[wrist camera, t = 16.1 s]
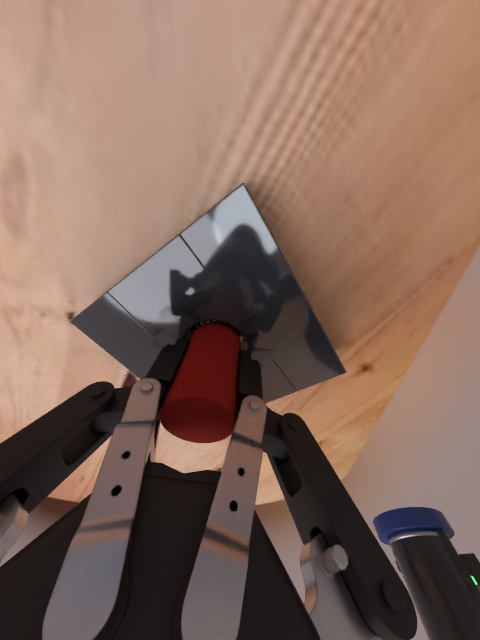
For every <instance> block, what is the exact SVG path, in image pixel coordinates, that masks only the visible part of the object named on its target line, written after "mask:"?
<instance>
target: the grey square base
mask: <svg viewBox="0 0 480 640" xmlns="http://www.w3.org/2000/svg"><path fill="white" fill-rule="evenodd" d="M211 319H214V320H219V321H224V322H227V323H229V324H231V325H232V326H234V327H236V328H237V329H239V331H240V332H241V333H242V334H243V336H244V337H245V338H246V339H245V340H244V342H243V343H242V344H241V349H240V350H247V351H251V359H253V360H258V362H259V364H260V366H261V375H262V389H263V400H264V402H265V403H268V402H270V401H273V400H276V399H278V398H281V397H283V396H286V395H289V394H291V393H294V392H296V391H299V390H302V389H305V388H307V387H310V386H312V385H315V384H318V383H320V382H323V381H325V380H328V379H331V378H333V377H336V376H339V375H341V374H344V373H346V370H345V368H344V366H343V365H342V363H341V361H340V359H339V357H338V355H337V354H336V352H335V350H334V348H333V346H332V344H331V342H330V341H329V339H328V337H327V335H326V333H325V331H324V330H323V328H322V326H321V324H320V322H319V320H318V318H317V317H316V315H315V313H314V311H313V309H312V307H311V306H310V304H309V302H308V300H307V298H306V296H305V295H304V293H303V291H302V289H301V287H300V285H299V283H298V282H297V280H296V278H295V276H294V274H293V272H292V271H291V269H290V267H289V265H288V263H287V261H286V259H285V258H284V256H283V254H282V252H281V250H280V248H279V247H278V245H277V243H276V241H275V239H274V237H273V235H272V234H271V232H270V230H269V228H268V226H267V224H266V223H265V221H264V219H263V217H262V215H261V213H260V212H259V210H258V208H257V206H256V204H255V202H254V200H253V199H252V197H251V195H250V193H249V191H248V189H247V188H246V186H245V184H244V183H242V184H241V185H240V186H238V187H237V188H236V189H235V190H233V191H232V192H231V193H230V194H228V195H227V196H226V197H225V198H223V199H222V200H221V201H220V202H218V203H217V204H216V205H215V206H213V207H212V208H211V209H210V210H208V211H207V212H206V213H205V214H203V215H202V216H201V217H200V218H198V219H197V220H196V221H195V222H193V223H192V224H191V225H190V226H188V227H187V228H186V229H185V230H183V231H182V232H181V233H180V234H178V235H177V236H176V237H175V238H173V239H172V240H171V241H170V242H168V243H167V244H166V245H165V246H163V247H162V248H161V249H160V250H158V251H157V252H156V253H155V254H153V255H152V256H151V257H150V258H148V259H147V260H146V261H145V262H143V263H142V264H141V265H140V266H138V267H137V268H136V269H135V270H133V271H132V272H131V273H130V274H128V275H127V276H126V277H125V278H123V279H122V280H121V281H120V282H118V283H117V284H116V285H115V286H113V287H112V288H111V289H110V290H108V291H107V292H106V293H105V294H103V295H102V296H101V297H100V298H98V299H97V300H96V301H95V302H93V303H92V304H91V305H90V306H88V307H87V308H86V309H85V310H83V311H82V312H81V313H80V314H78V315H77V316H76V317H75V318H73V319H72V320H71V321H70V322H71V323H72V324H73V325H75V326H76V327H77V328H78V329H79V330H81V331H82V332H83V333H84V334H86V335H87V336H88V337H89V338H91V339H92V340H93V341H94V342H95V343H97V344H98V345H99V346H100V347H102V348H103V349H104V350H105V351H106V352H108V353H109V354H110V355H111V356H113V357H114V358H115V359H116V360H117V361H119V362H120V363H121V364H122V365H124V366H125V367H126V368H127V369H129V370H130V371H131V372H132V373H133V374H135V375H136V376H137V377H138V378H140V379H144V378H145V376H146V375H147V373H148V371H149V370H150V368H151V366H152V365H153V363H154V361H155V360H156V358H157V356H158V355H159V353H160V351H161V349H162V348H163V347H165V346H166V345H167V344H172V345H174V344H175V342H176V340H177V339H178V338H182V339H188V340H189V341H190V339H191V337H192V332H191V329H190V326H192V325H194V324H195V323H197V322H199V321H205V320H211Z"/></svg>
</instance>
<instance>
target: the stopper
mask: <svg viewBox="0 0 480 640" xmlns="http://www.w3.org/2000/svg"><path fill="white" fill-rule="evenodd" d="M240 349H241V343H240V339H239V337H238V335H237V334H236V333H235V332H234V331H233V330H232V329H231V328H229V327H227V326H225V325H222V324H216V323H211V324H206V325H203V326H201V327H199V328H198V329H197V330H195V332H194V333H193V335H192V337H191V339H190V342H189V345H188V347H187V349H186V352H185V354H184V356H183V359H182V361H181V364H180V366H179V368H178V371H177V373H176V375H175V378H174V380H173V382H172V385H171V387H170V389H169V391H168V393H167V396H166V398H165V400H164V403H163V405H162V407H161V410H160V415H159V416H160V421H161V423H162V425H163V426H164V428H165V429H166V430H167V431H168V432H170V433H171V434H173V435H174V436H176V437H178V438H180V439H183V440H186V441H190V442H196V443H212V442H217V441H220V440H223V439H225V438H227V437H228V436H230V435H231V434H232V432H233V431H234V428H235V424H236V417H237V386H238V371H239V355H240Z"/></svg>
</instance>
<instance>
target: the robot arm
mask: <svg viewBox="0 0 480 640" xmlns="http://www.w3.org/2000/svg"><path fill="white" fill-rule="evenodd" d="M189 342H190V341H189V340H188V339H182V338H178V339H177V340H176V342H175V344H174V345H172V344H167V345H166V346H165V347H163V348H162V349H161V351H160V353H159V355H158V356H157V358H156V360H155V361H154V363H153V365H152V366H151V368H150V370H149V371H148V373H147V375H146V376H145V378H144V379H141V380H139V381H138V382H136V383H135V384H134V386H131V387H125V388H115V389H114V386H113V385H112V384H111V383H109V382H104V381H103V382H96V383H93V384H91V385H89V386H87V387H86V388H84V389H83V390H81V391H80V392H78V393H77V394H75V395H74V396H72V397H70V398H69V399H67V400H66V401H64V402H63V403H61V404H60V405H58V406H57V407H55V408H54V409H52V410H51V411H49V412H48V413H46V414H45V415H43V416H42V417H40V418H39V419H37V420H36V421H34V422H33V423H31V424H29V425H28V426H26V427H25V428H23V429H22V430H20V431H19V432H17V433H16V434H14V435H13V436H11V437H10V438H8V439H7V440H5V441H4V442H2V443H1V444H0V563H1V561H2V559H3V557H4V556H5V554H6V553H7V551H8V550H9V549H10V548H11V546H13V544H14V543H15V542H16V541H17V540H18V538H19V537H20V535H21V534H22V532H23V531H24V529H25V527H26V525H27V522H28V514H29V513H30V512H31V511H32V510H33V509H34V508H35V507H36V506H37V505H38V504H39V503H40V502H41V501H43V500H44V499H45V498H46V497H47V496H48V495H49V494H50V493H51V492H52V491H53V490H54V489H55V488H56V487H57V486H58V485H60V484H61V483H62V482H63V481H64V480H65V479H66V478H67V477H68V476H69V475H70V474H71V473H72V472H73V471H74V470H75V469H76V468H78V467H79V466H80V465H81V464H82V463H83V462H84V461H85V460H86V459H87V458H88V457H89V456H90V455H91V454H92V453H93V452H94V451H95V450H97V449H98V448H99V447H100V446H101V445H102V444H103V443H104V442H105V441H106V440H107V439H108V438H109V437H110V436H111V435H112V437H111V440H110V443H109V446H108V448H107V451H106V454H105V457H104V460H103V463H102V465H101V468H100V471H99V474H98V477H97V480H96V482H95V485H94V488H93V491H92V493H91V494H90V495H88V496H87V497H86V498H85V499H84V500H82V501H81V502H80V503H79V504H77V505H76V506H75V507H74V508H72V509H71V510H70V511H69V512H68V513H66V514H65V515H64V516H63V517H61V518H60V519H59V520H58V521H56V522H55V523H54V524H53V525H51V526H50V527H49V528H48V529H47V530H45V531H44V532H43V533H42V534H40V535H39V536H38V537H37V538H36V539H34V540H33V541H32V542H31V543H29V544H28V545H27V546H26V547H24V548H23V549H22V550H21V551H19V552H18V553H17V554H16V555H14V556H13V557H12V558H11V559H10V560H8V561H7V562H6V563H5V564H3V565H2V566H1V567H0V640H410V639H412V638H413V637H414V636H415V634H416V630H417V616H416V612H415V608H414V605H413V602H414V604H415V606H416V609H417V612H418V614H419V616H420V619H421V621H422V623H423V626H424V629H425V631H426V633H427V636H428V638H429V640H480V562H479V561H478V559H477V558H476V556H475V555H474V554H473V553H472V554H459V555H458V553H457V552H456V550H455V548H454V547H453V545H452V543H451V541H450V540H449V538H448V536H447V535H446V533H445V531H444V530H443V528H439V529H429V528H417V529H407V530H402V531H399V532H396V533H393V534H391V535H390V536H389V537H388V538H387V540H388V542H389V545H390V547H391V548H392V551H393V554H394V556H395V558H396V560H397V561H396V564H397V566H398V569H399V571H400V572H401V573H402V575H403V578H404V580H405V582H406V585H407V587H408V590H409V592H410V595H411V597H412V599H413V602H412V599H411V597H410V595H409V593H408V591H407V589H406V587H405V585H404V584H403V582H402V581H401V579H400V577H399V576H398V574H397V572H396V571H395V569H394V567H393V566H392V564H391V563H390V561H389V559H388V558H387V556H386V554H385V553H384V551H383V550H382V548H381V546H380V545H379V543H378V541H377V540H376V538H375V536H374V535H373V533H372V531H371V530H370V528H369V527H368V525H367V523H366V522H365V520H364V519H363V517H362V515H361V514H360V512H359V510H358V509H357V507H356V505H355V504H354V502H353V501H352V499H351V497H350V496H349V494H348V492H347V491H346V489H345V487H344V486H343V484H342V483H341V481H340V479H339V478H338V476H337V474H336V473H335V471H334V469H333V468H332V466H331V464H330V463H329V461H328V460H327V458H326V456H325V455H324V453H323V451H322V450H321V448H320V447H319V445H318V443H317V442H316V440H315V438H314V437H313V435H312V433H311V432H310V430H309V429H308V427H307V425H306V424H305V422H304V421H303V419H302V418H300V417H299V416H298V415H296V414H293V413H286V414H284V415H283V416H281V415H279V414H277V413H275V412H273V411H272V410H270V409H269V408H268V407H267V406H266V403H265V402H264V400H263V389H262V375H261V366H260V364H259V362H258V360H253V359H251V351H247V350H240V355H239V371H238V386H237V417H236V424H235V428H234V431H233V432H232V436H231V439H230V442H229V446H228V449H227V452H226V456H225V459H224V463H223V466H222V469H221V472H219V471H212V470H204V471H197V472H191V473H181V472H179V471H177V470H175V469H173V468H171V467H169V466H167V465H165V464H162V463H156V462H155V453H156V447H157V441H158V435H159V428H160V422H161V421H160V416H159V415H160V410H161V407H162V405H163V403H164V400H165V398H166V396H167V393H168V391H169V389H170V387H171V385H172V382H173V380H174V378H175V375H176V373H177V371H178V368H179V366H180V364H181V361H182V359H183V356H184V354H185V352H186V349H187V347H188V345H189ZM263 452H265V453H267V455H268V458H269V460H270V463H271V465H272V468H273V470H274V473H275V475H276V478H277V480H278V483H279V485H280V487H281V490H282V492H283V495H284V497H285V500H286V502H287V505H288V507H289V510H290V512H291V515H292V517H293V520H294V522H295V525H296V527H297V530H298V532H299V535H300V537H301V539H302V542H303V544H304V546H303V548H302V550H301V555H300V567H301V572H302V576H303V579H304V584H305V603H304V604H303V602H302V600H301V598H300V596H299V594H298V593H297V590H296V589H295V587H294V585H293V583H292V581H291V579H290V577H289V575H288V573H287V571H286V569H285V567H284V565H283V563H282V562H281V560H280V558H279V556H278V554H277V552H276V550H275V548H274V546H273V544H272V542H271V540H270V538H269V536H268V535H267V533H266V531H265V529H264V527H263V525H262V523H261V521H260V519H259V517H258V515H257V513H256V511H255V509H254V507H255V501H256V494H257V488H258V481H259V474H260V467H261V460H262V454H263Z"/></svg>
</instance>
